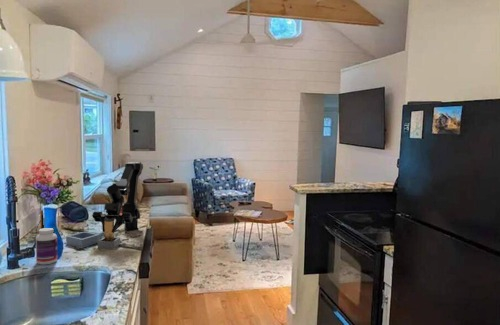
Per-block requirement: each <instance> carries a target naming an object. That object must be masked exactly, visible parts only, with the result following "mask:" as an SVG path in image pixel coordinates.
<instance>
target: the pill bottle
mask: <svg viewBox="0 0 500 325" xmlns="http://www.w3.org/2000/svg"><path fill="white" fill-rule="evenodd" d="M38 232H39V233H38V235H36V237H35V260H36V263H37V264H38V265H41V266H42V265H45V266H46V265H50V264H54V263H56V262H57V261H58V236H57V234H56V232H55V233H53V232H54V229H53V228H42V229H41V228H40V229H39V230H38Z"/></svg>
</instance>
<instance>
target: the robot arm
mask: <svg viewBox="0 0 500 325" xmlns="http://www.w3.org/2000/svg"><path fill="white" fill-rule="evenodd" d="M143 169H144V163H142V162H141V161H130V162H125V165H124V170H123V171H122V174H121V177H120V180H118V181H117V182H116V183H115V182H113V183H112V184H111V185H109V186H108V187H107V188H106V192H107V194H108V196H109V199H111V202H105V204H104V207H103V208H104V211H105V213H103V211H93V212H92V214H91V217H92V218H93V220H94V222H97V223H101V227H102V233H104V219H105V218H110V217H111V218H114V220H115V221H114V227H113V231H112V232H113V233H114V234H115V232H116V231H117V230H118V229H119V228H120V227H121V226H122V225H124V229H125V230H126V231H133V230H134V231H135V230H139V228H138V225H139V224H138V219H141V212H140V210H139V205H138V203H137V202H136V201H137V192H138V184H139V182H138V181H139V177H140V176H141V175H142V171H143ZM124 196H127V200H126V202H125V197H124Z"/></svg>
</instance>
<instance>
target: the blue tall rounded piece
mask: <svg viewBox="0 0 500 325" xmlns="http://www.w3.org/2000/svg"><path fill="white" fill-rule="evenodd" d="M43 199H44V200H45V202H46V204H47V205H48V202H49V201H50V200H52V201H53V202H54V203H55V205H57V203H56V202H55V200H54V199H53V198H49V199H48V201H47V199H46V198H45V197H43ZM43 199H41V200H40V203H39V209H40V211H39V215H40V216H39V217H40V219H39V222H38V224H37V227H36V230H35V233H36V234H39V231H38V232H37V230H38V228H39V225H40V229H42V228H44V225H43V210H44V209H41V207H42V206H41V203H42V202H43ZM46 204H45V205H46ZM57 214H58V216H60V213H59V211H57ZM59 226H60V222H58V225H57V228H58V227H59ZM60 233H61V236H63V231H60Z"/></svg>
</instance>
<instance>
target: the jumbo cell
mask: <svg viewBox="0 0 500 325" xmlns="http://www.w3.org/2000/svg"><path fill="white" fill-rule="evenodd" d="M114 225H115V219H114V218H111V217H110V218H105V219H104V232H103V233H104V236H103V237H104V241H114V237H115V232H114V233H113V232H112V231H113V227H114Z"/></svg>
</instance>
